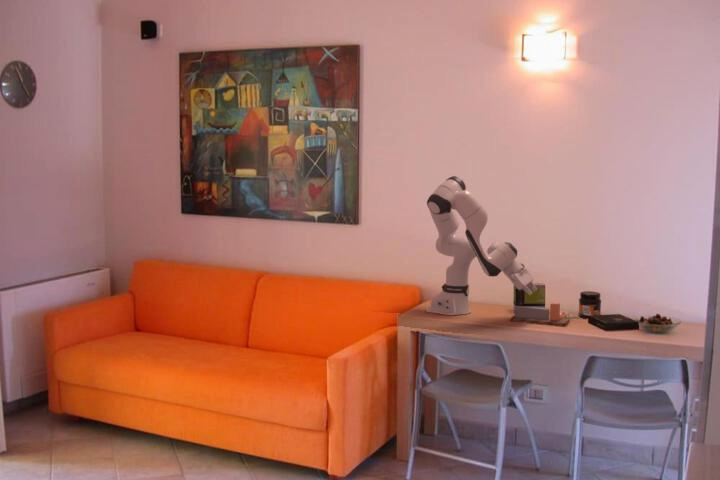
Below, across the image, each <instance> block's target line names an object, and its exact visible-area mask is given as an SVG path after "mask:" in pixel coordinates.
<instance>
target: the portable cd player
mask: <svg viewBox="0 0 720 480" xmlns="http://www.w3.org/2000/svg"><path fill="white" fill-rule="evenodd" d="M587 324H589V325H591V326H594V327H596V328H598V329H600V330H602V331H605V332H610V331H611V332H612V331H613V332H615V331H632V330H639V329H640V325H639V321H637V320H634V319H632V318H630V317H628V316H625V315H622V314H620V313H615V314H611V313H610V314H601V315H589V316H588V319H587Z"/></svg>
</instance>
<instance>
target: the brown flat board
mask: <svg viewBox="0 0 720 480" xmlns="http://www.w3.org/2000/svg"><path fill="white" fill-rule="evenodd" d="M510 322H512V323H513V322H515V323H523V322H526V324H533V323H536V324H535V325H543V324H547V325H546V326H553V325H559V326H558V327H564V326H567V325H568V324H569V323H570V318H560V317H559V321H555V320H550V319H548V320H542V319H532V318H521V317H515V314H514V315H512V316H511V317H510Z"/></svg>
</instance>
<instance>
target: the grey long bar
mask: <svg viewBox="0 0 720 480" xmlns="http://www.w3.org/2000/svg"><path fill="white" fill-rule="evenodd" d="M514 315H515V317H521V318H532V319H542V320H548V319H549V317H550V308H546V307H545V308H535V307H524V306H515V310H514Z"/></svg>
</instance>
